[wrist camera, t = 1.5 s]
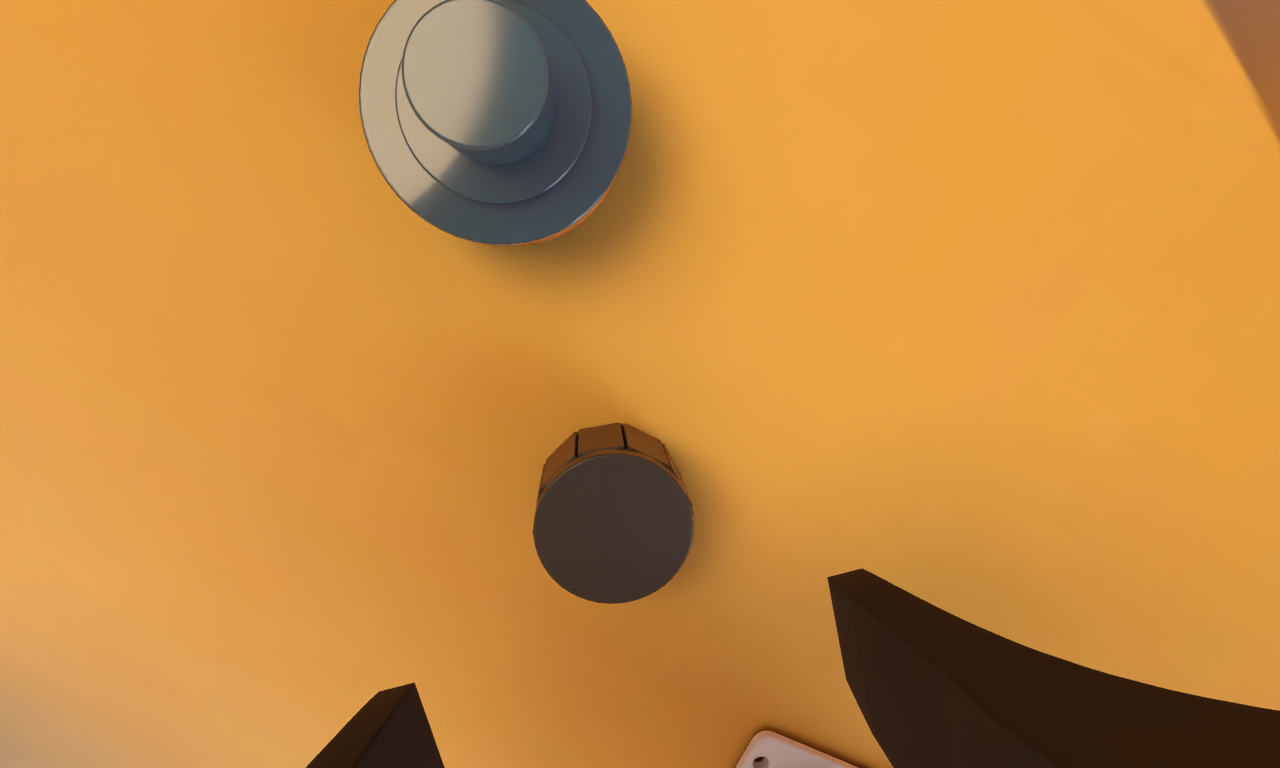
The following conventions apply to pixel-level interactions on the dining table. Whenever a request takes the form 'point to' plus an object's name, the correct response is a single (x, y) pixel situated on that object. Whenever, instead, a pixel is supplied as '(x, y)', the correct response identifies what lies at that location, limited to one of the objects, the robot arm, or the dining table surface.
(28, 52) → the dining table surface
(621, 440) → the cap
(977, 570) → the dining table surface
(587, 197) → the bottle
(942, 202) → the dining table surface
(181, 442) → the dining table surface
